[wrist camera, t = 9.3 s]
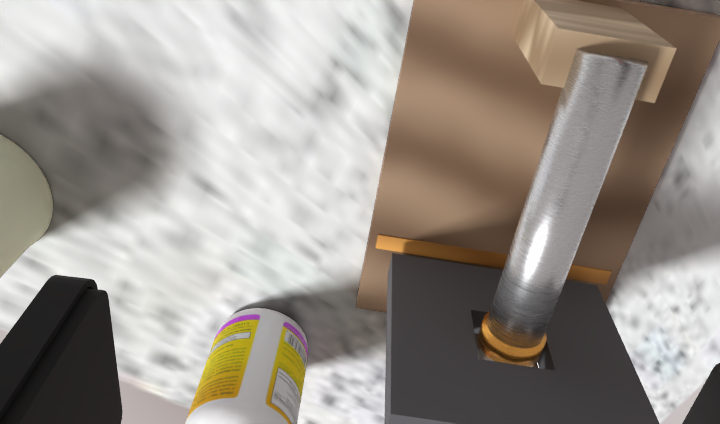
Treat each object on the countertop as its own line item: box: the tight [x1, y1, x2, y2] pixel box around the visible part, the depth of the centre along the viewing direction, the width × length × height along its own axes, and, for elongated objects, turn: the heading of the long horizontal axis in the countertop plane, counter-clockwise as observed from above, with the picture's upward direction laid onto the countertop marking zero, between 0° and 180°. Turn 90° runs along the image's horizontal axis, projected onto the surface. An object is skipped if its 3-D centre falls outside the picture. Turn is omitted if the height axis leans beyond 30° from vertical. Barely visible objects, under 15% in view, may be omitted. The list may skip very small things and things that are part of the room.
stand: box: [356, 0, 720, 368], centre depth 36 cm, size 22×16×8 cm
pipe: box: [477, 49, 649, 367], centre depth 32 cm, size 20×3×3 cm, turn 171°
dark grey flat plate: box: [385, 253, 659, 424], centre depth 35 cm, size 2×13×13 cm, turn 81°
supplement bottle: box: [186, 308, 308, 424], centre depth 41 cm, size 7×7×13 cm
